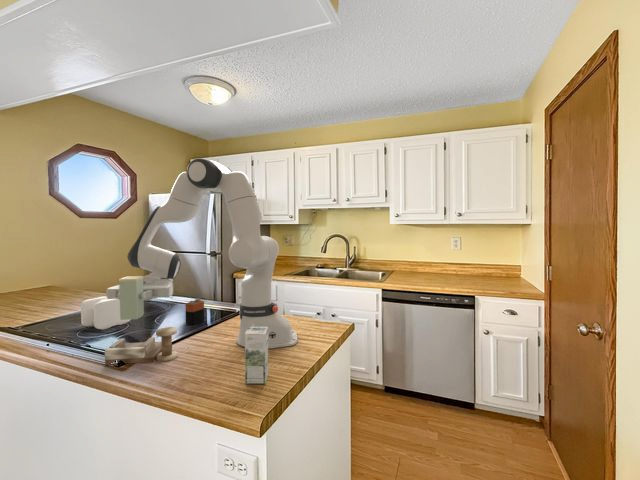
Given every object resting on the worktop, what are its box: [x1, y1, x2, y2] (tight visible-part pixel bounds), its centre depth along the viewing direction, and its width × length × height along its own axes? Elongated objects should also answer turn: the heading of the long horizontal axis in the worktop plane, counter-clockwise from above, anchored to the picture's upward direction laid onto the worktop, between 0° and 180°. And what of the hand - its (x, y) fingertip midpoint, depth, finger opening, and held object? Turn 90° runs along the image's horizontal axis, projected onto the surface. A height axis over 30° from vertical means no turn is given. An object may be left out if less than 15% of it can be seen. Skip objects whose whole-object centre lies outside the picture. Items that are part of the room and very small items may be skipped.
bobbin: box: [155, 326, 178, 362], centre depth 100 cm, size 6×6×9 cm
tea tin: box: [118, 275, 145, 320], centre depth 100 cm, size 5×5×13 cm
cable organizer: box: [80, 295, 132, 331], centre depth 130 cm, size 15×11×12 cm
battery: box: [185, 298, 205, 326], centre depth 134 cm, size 4×7×10 cm, turn 155°
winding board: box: [104, 336, 162, 366], centre depth 102 cm, size 14×13×4 cm
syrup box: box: [244, 327, 269, 385], centre depth 86 cm, size 6×6×14 cm
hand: (130, 296), depth 99 cm, fingers closed on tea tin, 5 cm apart
